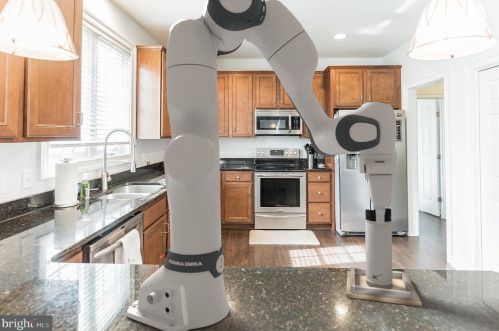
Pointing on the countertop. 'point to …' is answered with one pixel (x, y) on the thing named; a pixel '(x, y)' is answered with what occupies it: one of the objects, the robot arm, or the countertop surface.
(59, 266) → the countertop surface
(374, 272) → the travel mug
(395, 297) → the square metal tray
